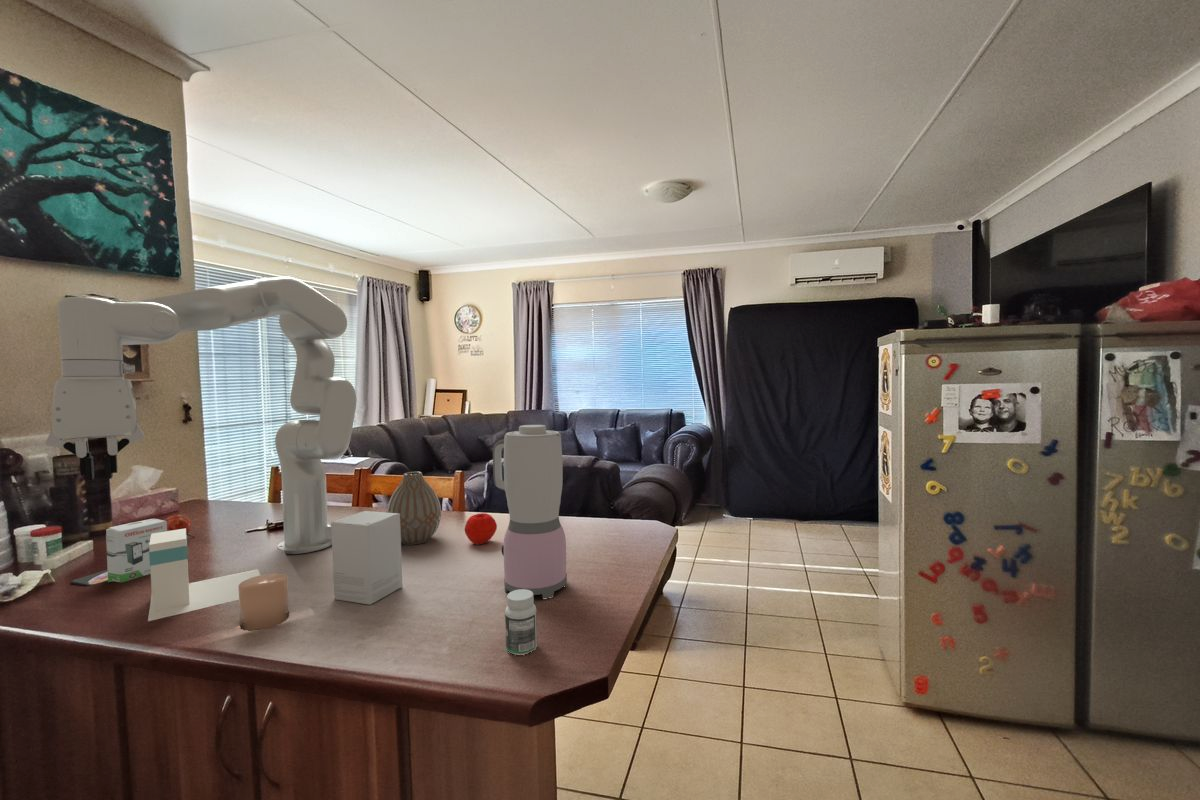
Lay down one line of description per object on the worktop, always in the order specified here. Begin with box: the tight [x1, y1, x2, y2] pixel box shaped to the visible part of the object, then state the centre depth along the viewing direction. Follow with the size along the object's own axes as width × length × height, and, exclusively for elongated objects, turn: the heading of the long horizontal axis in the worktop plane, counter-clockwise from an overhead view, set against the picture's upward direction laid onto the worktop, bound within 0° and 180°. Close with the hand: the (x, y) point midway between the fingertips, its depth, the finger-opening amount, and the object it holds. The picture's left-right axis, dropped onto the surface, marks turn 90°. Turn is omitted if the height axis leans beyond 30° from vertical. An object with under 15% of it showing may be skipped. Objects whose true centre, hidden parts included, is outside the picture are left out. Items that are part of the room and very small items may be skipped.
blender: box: [492, 424, 568, 598], centre depth 100 cm, size 16×12×32 cm
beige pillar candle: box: [238, 572, 290, 632], centre depth 87 cm, size 7×7×7 cm
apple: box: [464, 512, 498, 545], centre depth 127 cm, size 8×8×7 cm
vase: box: [386, 471, 442, 546], centre depth 129 cm, size 13×13×18 cm
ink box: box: [105, 518, 167, 583], centre depth 107 cm, size 9×5×12 cm, turn 158°
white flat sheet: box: [147, 568, 261, 622], centre depth 97 cm, size 17×16×1 cm
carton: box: [149, 528, 190, 612], centre depth 93 cm, size 5×8×12 cm, turn 39°
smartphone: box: [70, 569, 109, 587], centre depth 111 cm, size 8×1×15 cm
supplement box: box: [330, 510, 403, 605], centre depth 98 cm, size 9×9×15 cm
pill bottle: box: [504, 589, 538, 654], centre depth 77 cm, size 5×5×8 cm
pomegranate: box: [163, 514, 196, 539], centre depth 131 cm, size 7×7×10 cm
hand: (99, 478), depth 87 cm, fingers closed
